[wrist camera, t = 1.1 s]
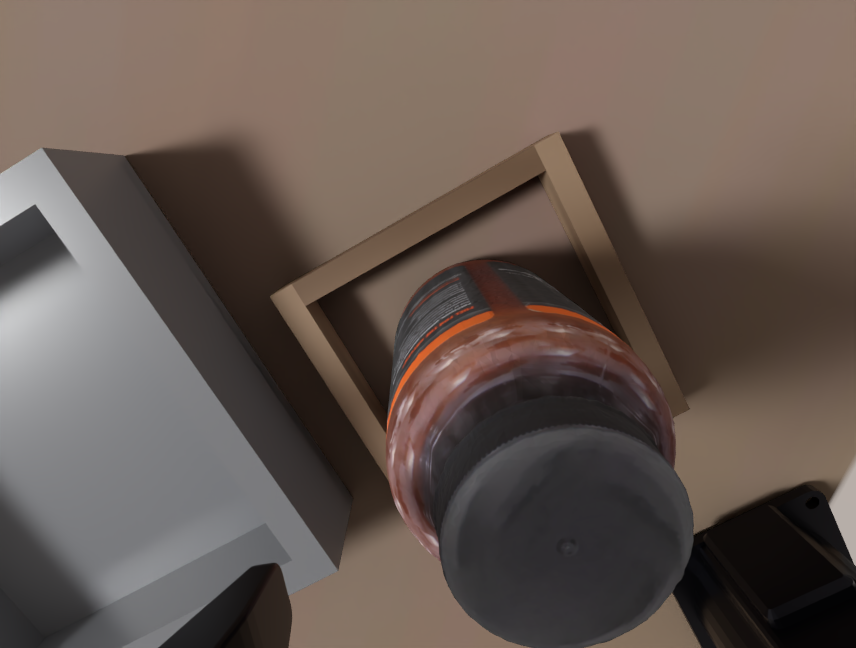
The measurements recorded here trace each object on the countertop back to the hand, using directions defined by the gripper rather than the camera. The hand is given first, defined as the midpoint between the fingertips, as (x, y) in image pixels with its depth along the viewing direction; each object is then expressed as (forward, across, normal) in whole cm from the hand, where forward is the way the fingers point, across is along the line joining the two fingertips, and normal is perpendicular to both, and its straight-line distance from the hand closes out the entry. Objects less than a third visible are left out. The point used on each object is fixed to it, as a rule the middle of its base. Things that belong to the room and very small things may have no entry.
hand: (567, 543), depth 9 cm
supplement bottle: (+11, 0, 0) cm, 11 cm away
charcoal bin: (+11, +15, +1) cm, 18 cm away
